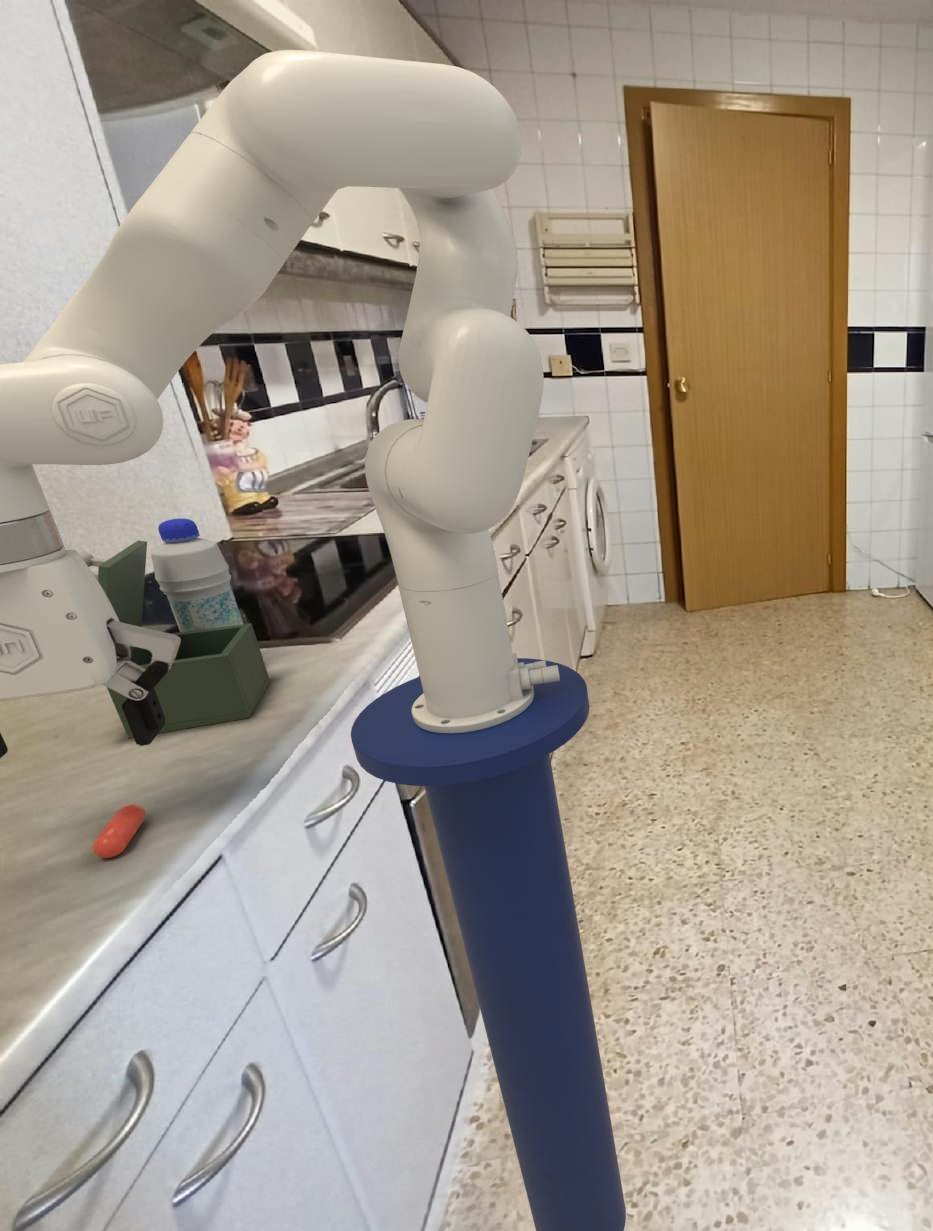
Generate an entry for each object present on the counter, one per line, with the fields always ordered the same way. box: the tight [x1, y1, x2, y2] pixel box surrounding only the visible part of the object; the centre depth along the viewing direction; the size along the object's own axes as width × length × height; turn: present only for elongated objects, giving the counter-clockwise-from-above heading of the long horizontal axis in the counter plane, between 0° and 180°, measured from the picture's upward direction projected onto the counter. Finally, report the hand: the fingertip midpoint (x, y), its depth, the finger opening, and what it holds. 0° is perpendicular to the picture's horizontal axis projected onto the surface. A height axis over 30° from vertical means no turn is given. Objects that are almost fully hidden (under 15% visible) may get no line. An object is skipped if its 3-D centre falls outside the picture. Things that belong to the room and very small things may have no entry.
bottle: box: [150, 518, 244, 632], centre depth 85 cm, size 7×7×20 cm
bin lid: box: [78, 540, 148, 627], centre depth 74 cm, size 11×10×5 cm
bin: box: [106, 622, 271, 739], centre depth 80 cm, size 11×10×8 cm
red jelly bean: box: [92, 804, 146, 859], centre depth 61 cm, size 6×2×2 cm, turn 24°
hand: (74, 749), depth 57 cm, fingers open, 9 cm apart
